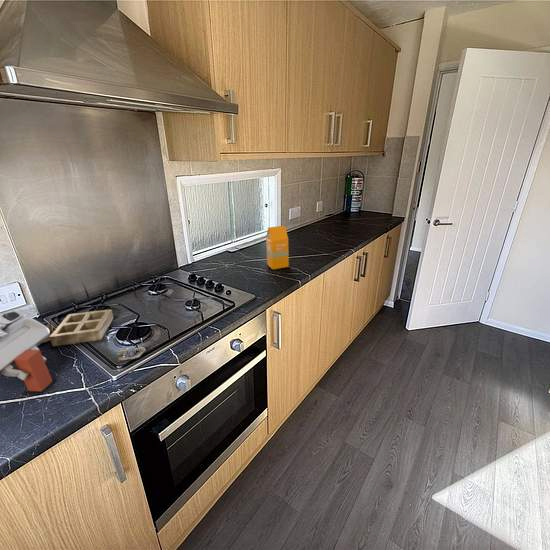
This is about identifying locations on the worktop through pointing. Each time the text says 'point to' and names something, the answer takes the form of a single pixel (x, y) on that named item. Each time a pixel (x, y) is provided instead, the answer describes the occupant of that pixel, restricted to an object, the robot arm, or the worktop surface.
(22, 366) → the peg
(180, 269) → the worktop surface
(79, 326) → the four-pane grid frame
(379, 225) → the worktop surface
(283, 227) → the orange juice
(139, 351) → the grey flat piece
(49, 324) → the shard
